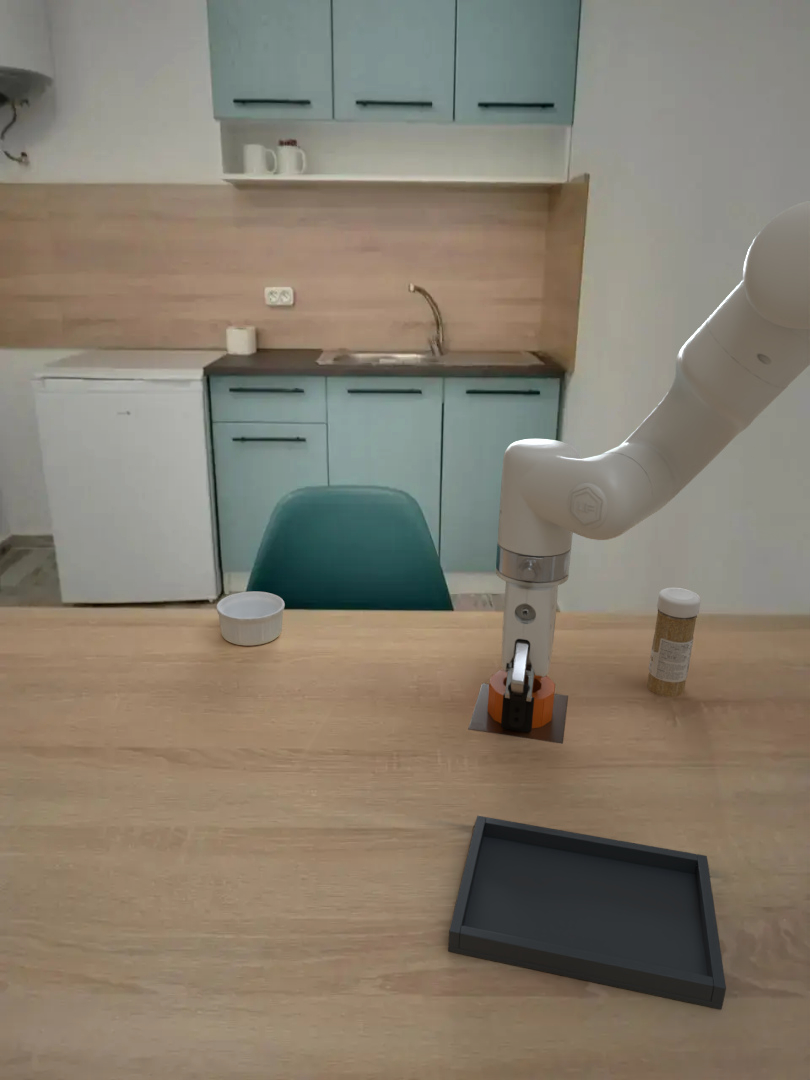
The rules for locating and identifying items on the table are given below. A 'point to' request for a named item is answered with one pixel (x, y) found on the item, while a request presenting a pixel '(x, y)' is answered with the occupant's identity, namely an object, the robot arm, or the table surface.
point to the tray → (590, 910)
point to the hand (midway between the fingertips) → (520, 709)
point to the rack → (545, 733)
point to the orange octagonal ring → (541, 694)
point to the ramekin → (251, 617)
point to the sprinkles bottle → (672, 641)
